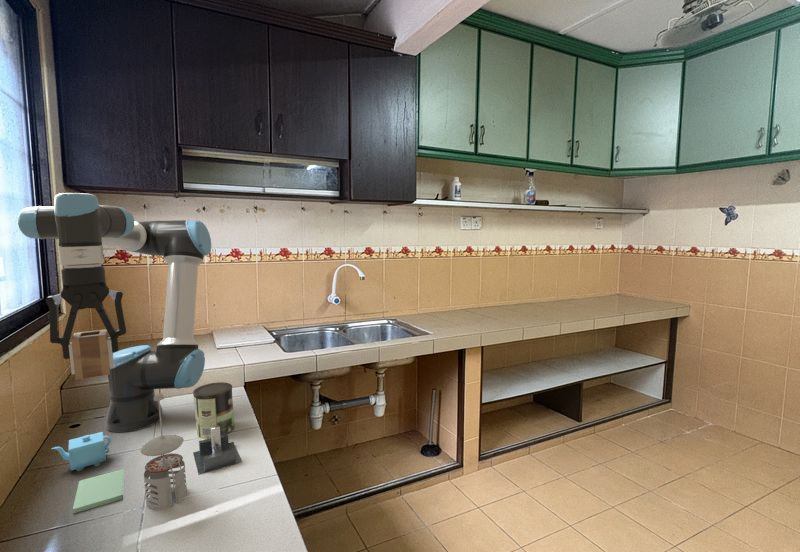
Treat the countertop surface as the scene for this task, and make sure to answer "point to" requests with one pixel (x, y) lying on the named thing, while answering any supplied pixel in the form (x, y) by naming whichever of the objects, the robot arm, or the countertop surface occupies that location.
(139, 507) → the countertop surface
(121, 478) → the board
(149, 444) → the french press
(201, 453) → the peg stand
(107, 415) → the robot arm
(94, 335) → the sleeve
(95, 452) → the teapot
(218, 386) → the coffee can
